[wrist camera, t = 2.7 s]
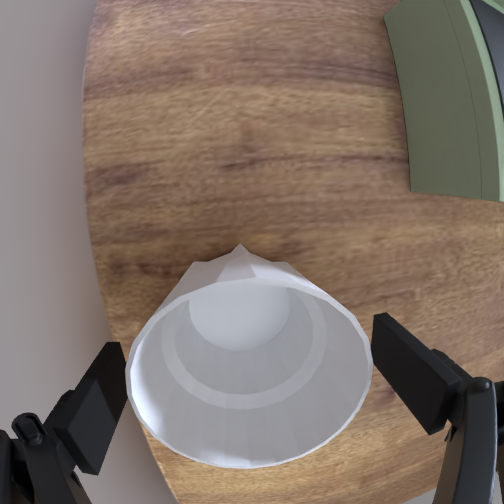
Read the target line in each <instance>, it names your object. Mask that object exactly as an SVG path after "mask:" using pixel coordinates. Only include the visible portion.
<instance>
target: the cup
mask: <svg viewBox="0 0 504 504" xmlns="http://www.w3.org/2000/svg"><path fill="white" fill-rule="evenodd" d="M372 368H373V359H372V354H371V349H370V345H369V340H368V337H367V335H366V334H365V332H364V330H363V329H362V327H361V326H360V324H359V322H358V321H357V319H356V318H355V316H354V315H353V314H352V313H351V312H350V311H348V310H347V309H346V308H345V307H343V306H342V305H341V304H340V303H339V302H337V301H336V300H335V299H334V298H332V297H331V296H330V295H329V294H327V293H326V292H324V291H323V290H321V289H320V288H319V287H317V286H316V285H314V284H313V283H311V282H310V281H309V280H307V279H306V278H305V277H304V276H303V275H302V274H300V273H299V272H298V271H297V270H295V269H294V268H293V267H292V266H291V265H289V264H288V263H287V262H286V261H282V262H271V261H269V260H266V259H264V258H261V257H259V256H257V255H254V254H252V253H249V251H248V250H247V249H246V248H245V247H244V246H243V245H242V244H241V243H239V244H238V245H237V246H236V247H235V248H234V250H233V251H232V252H231V253H228V254H226V255H223V256H221V257H218V258H216V259H213V260H211V261H208V262H200V261H194V262H193V263H192V264H191V266H190V267H189V268H188V270H187V271H186V272H185V274H184V275H183V277H182V278H181V280H180V281H179V282H178V283H177V285H176V286H175V287H174V289H173V290H172V291H171V292H170V294H169V295H168V296H167V297H166V299H165V300H164V301H163V302H162V304H161V305H160V306H159V308H158V309H157V310H156V311H155V313H154V314H153V315H152V317H151V318H150V319H149V321H148V322H147V323H146V325H145V326H144V328H143V329H142V330H141V332H140V333H139V335H138V336H137V337H136V339H135V340H134V342H133V343H132V346H131V350H130V353H129V357H128V360H127V364H126V368H125V376H126V387H127V395H128V398H129V400H130V402H131V405H132V407H133V409H134V412H135V414H136V416H137V418H138V419H139V420H140V422H141V423H142V424H143V425H144V426H145V428H146V429H147V430H148V431H149V432H150V433H151V435H152V436H153V437H155V438H156V439H157V440H159V441H160V442H161V443H163V444H164V445H165V446H167V447H168V448H170V449H171V450H172V451H174V452H176V453H178V454H180V455H183V456H185V457H187V458H190V459H192V460H194V461H197V462H200V463H204V464H209V465H213V466H218V467H223V468H241V469H252V468H260V467H267V466H274V465H279V464H282V463H285V462H288V461H291V460H294V459H297V458H300V457H303V456H305V455H307V454H309V453H310V452H312V451H314V450H316V449H318V448H320V447H321V446H323V445H325V444H326V443H328V442H329V441H330V440H331V439H333V438H334V437H335V436H336V435H337V434H339V433H340V432H341V431H342V430H343V429H344V428H345V427H346V426H347V425H348V424H349V422H350V421H351V420H352V419H353V417H354V416H355V415H356V413H357V412H358V411H359V410H360V408H361V406H362V404H363V401H364V399H365V397H366V395H367V392H368V390H369V388H370V383H371V376H372Z"/></svg>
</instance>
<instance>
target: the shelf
mask: <svg viewBox="0 0 504 504" xmlns="http://www.w3.org/2000/svg"><path fill="white" fill-rule="evenodd" d="M383 17H384V21H385V24H386V28H387V32H388V35H389V39H390V43H391V47H392V51H393V56H394V60H395V65H396V70H397V75H398V80H399V85H400V91H401V97H402V103H403V110H404V117H405V125H406V133H407V143H408V154H409V167H410V186H411V192H421V193H431V194H441V195H450V196H458V197H467V198H474V199H483V200H489V201H496V202H504V0H401V1H400V2H398V3H397V4H396V5H395V6H394V7H393V8H392V9H391V10H389V11H388V12H387V13H386V14H385V15H384V16H383Z"/></svg>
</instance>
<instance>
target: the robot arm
mask: <svg viewBox="0 0 504 504" xmlns="http://www.w3.org/2000/svg"><path fill="white" fill-rule="evenodd" d="M371 354H372V359H373V364H374V365H375V366H376V367H377V369H378V370H379V371H380V372H381V374H382V375H383V376H384V378H385V379H386V380H387V381H388V383H389V384H390V385H391V386H392V388H393V389H394V390H395V392H396V393H397V394H398V395H399V397H400V398H401V399H402V401H403V402H404V403H405V405H406V406H407V407H408V408H409V410H410V411H411V412H412V414H413V415H414V416H415V418H416V419H417V420H418V421H419V423H420V424H421V425H422V427H423V428H424V429H425V431H426V432H427V433H428V435H432V434H434V433H436V432H438V431H440V430H442V429H443V428H444V426H445V424H446V421H447V419H448V420H449V421H450V422H451V424H452V425H451V427H450V429H449V432H448V434H447V436H446V438H445V440H444V441H445V442H446V441H447V439H448V441H447V447H446V452H445V457H444V461H443V466H442V470H441V474H440V478H439V482H438V486H437V489H436V493H435V497H434V500H433V503H432V504H492V498H493V491H494V483H495V472H496V464H497V469H498V475H499V481H500V487H501V494H502V502H503V504H504V381H500V382H496V383H493V382H492V381H491V380H489V379H487V378H485V377H475V378H472V377H471V376H470V375H469V374H468V373H467V372H466V371H464V370H463V369H462V368H461V367H460V366H459V365H457V364H455V362H454V361H453V360H452V359H450V358H449V357H448V356H447V355H446V354H445V353H443V352H441V351H439V350H436V349H432V350H430V349H428V348H427V347H426V346H425V345H424V344H423V343H422V342H420V341H419V340H418V339H417V338H416V337H415V336H413V335H412V334H411V333H410V332H409V331H408V330H406V329H405V328H404V327H403V326H402V325H401V324H399V323H398V322H397V321H396V320H395V319H394V318H392V317H391V316H390V315H389V314H388V313H381V314H376V315H374V320H373V331H372V341H371ZM125 368H126V361H125V358H124V354H123V351H122V348H121V344H120V342H107V343H106V344H105V345H104V347H103V348H102V350H101V351H100V352H99V354H98V356H97V357H96V358H95V360H94V361H93V363H92V364H91V366H90V367H89V369H88V370H87V372H86V373H85V375H84V376H83V378H82V379H81V381H80V382H79V384H78V385H77V387H76V388H75V390H69V391H67V392H66V393H65V394H63V395H62V396H61V398H60V399H59V401H58V402H57V404H56V405H55V407H54V408H53V410H52V411H51V413H50V414H49V416H48V417H47V419H46V420H45V422H44V424H43V425H42V423H41V421H40V420H39V418H38V416H37V415H36V414H34V413H23V414H21V415H19V416H17V417H16V418H15V419H14V420H13V422H12V429H13V431H14V432H15V433H16V435H17V437H18V438H19V439H10V437H9V436H8V434H7V433H6V432H5V431H4V430H0V504H92V503H91V502H90V500H89V498H88V496H87V494H86V492H85V490H84V489H83V487H82V485H81V483H80V481H79V478H78V476H77V475H76V473H75V472H74V471H73V470H74V468H75V466H76V465H77V466H78V467H79V469H80V470H81V471H82V472H83V473H88V474H92V475H98V474H99V472H100V469H101V466H102V463H103V461H104V458H105V455H106V452H107V450H108V447H109V444H110V442H111V439H112V436H113V434H114V431H115V429H116V426H117V424H118V421H119V418H120V416H121V413H122V411H123V408H124V406H125V403H126V401H127V399H128V395H127V387H126V376H125Z"/></svg>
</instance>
